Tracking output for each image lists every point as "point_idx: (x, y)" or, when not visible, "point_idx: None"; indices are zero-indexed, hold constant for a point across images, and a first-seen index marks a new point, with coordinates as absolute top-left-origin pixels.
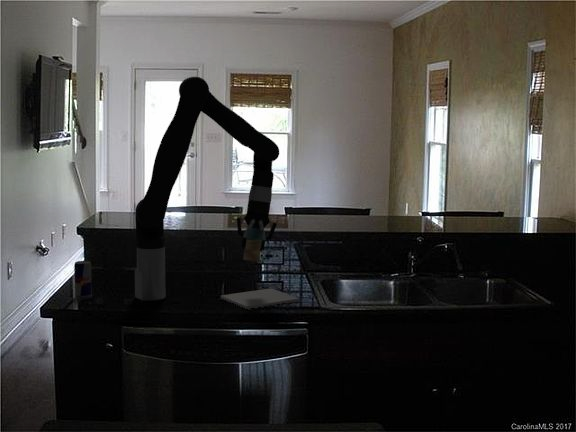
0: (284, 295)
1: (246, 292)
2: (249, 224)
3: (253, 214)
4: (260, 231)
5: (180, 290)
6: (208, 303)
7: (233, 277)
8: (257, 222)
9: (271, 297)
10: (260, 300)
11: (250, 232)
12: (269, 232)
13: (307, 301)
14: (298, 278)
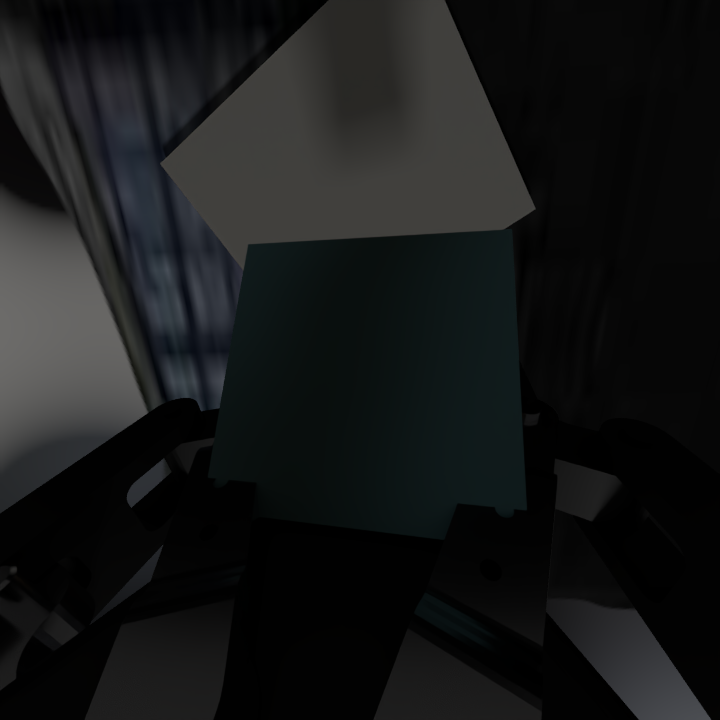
0: (237, 224)
1: None
2: (537, 617)
3: None
4: (259, 439)
5: (682, 354)
6: (603, 97)
7: None
8: (287, 714)
9: (291, 178)
10: (340, 104)
11: (460, 383)
12: (163, 525)
13: (133, 170)
14: None
